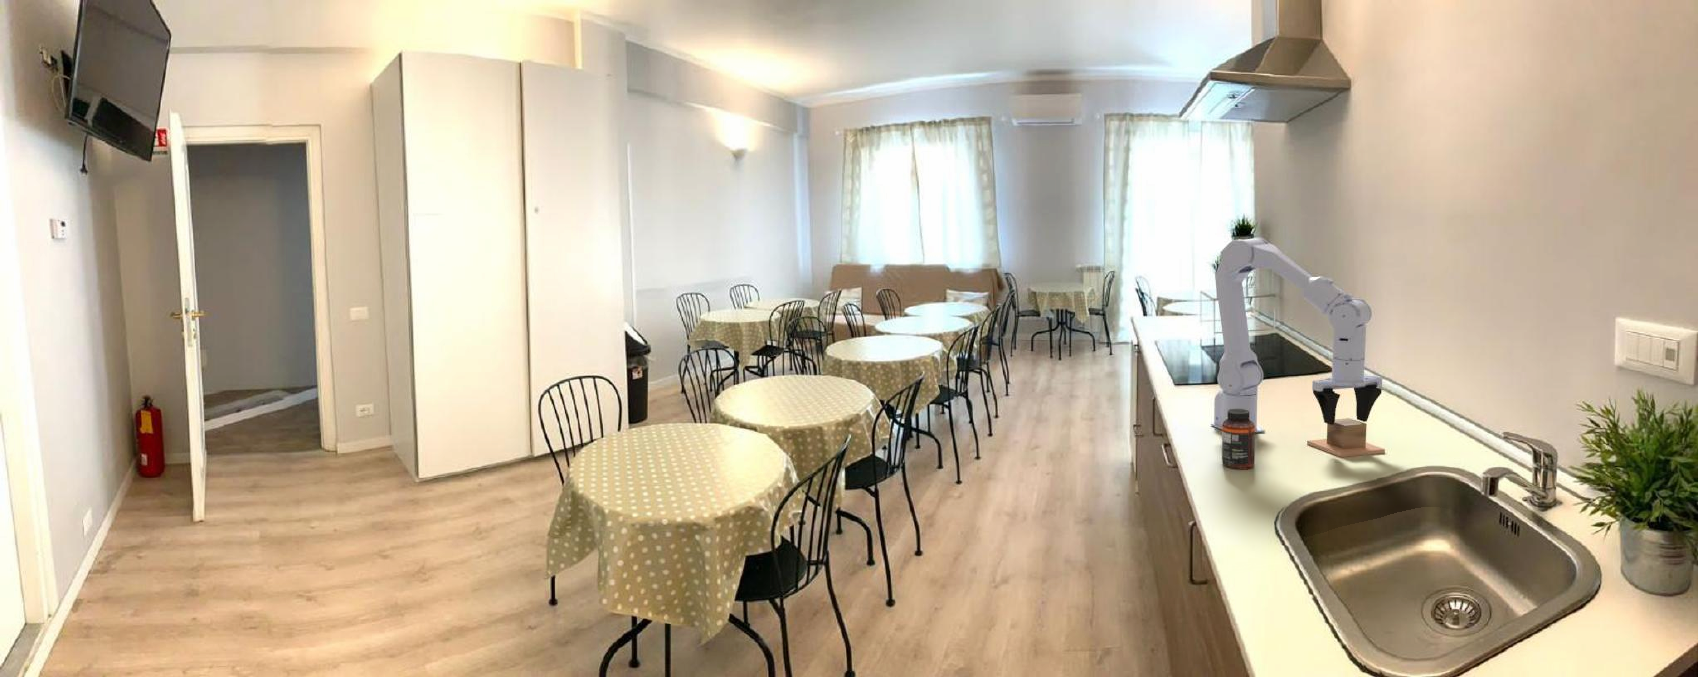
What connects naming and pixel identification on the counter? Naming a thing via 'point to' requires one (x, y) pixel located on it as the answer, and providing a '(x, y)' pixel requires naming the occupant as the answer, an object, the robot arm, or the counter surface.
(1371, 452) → the terracotta tile
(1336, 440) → the walnut cube
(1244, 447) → the supplement bottle
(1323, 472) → the counter surface
